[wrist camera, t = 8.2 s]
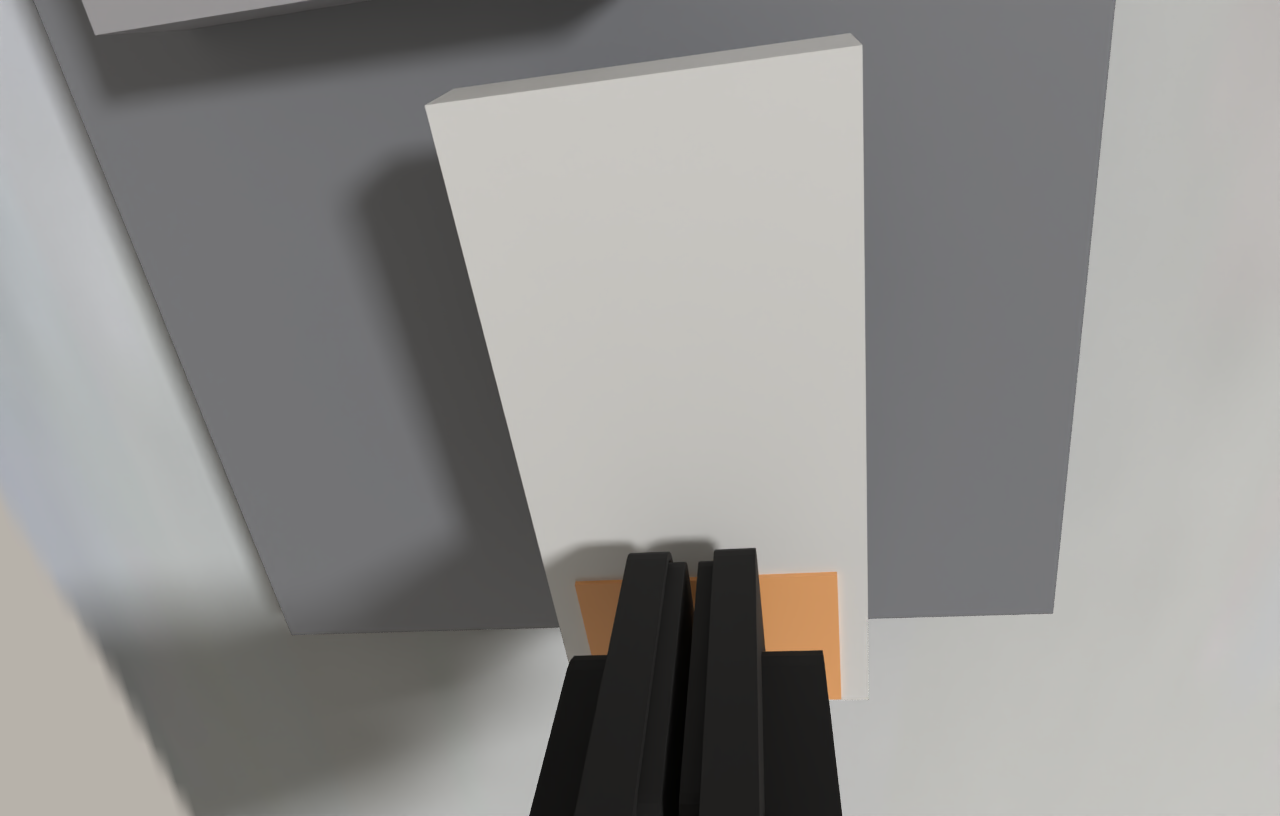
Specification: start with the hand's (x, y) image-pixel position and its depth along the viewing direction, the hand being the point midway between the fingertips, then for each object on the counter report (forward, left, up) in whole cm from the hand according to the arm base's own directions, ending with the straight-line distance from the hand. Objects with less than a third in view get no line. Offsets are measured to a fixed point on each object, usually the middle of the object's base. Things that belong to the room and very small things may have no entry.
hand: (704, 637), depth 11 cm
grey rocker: (-3, 0, -2) cm, 3 cm away
